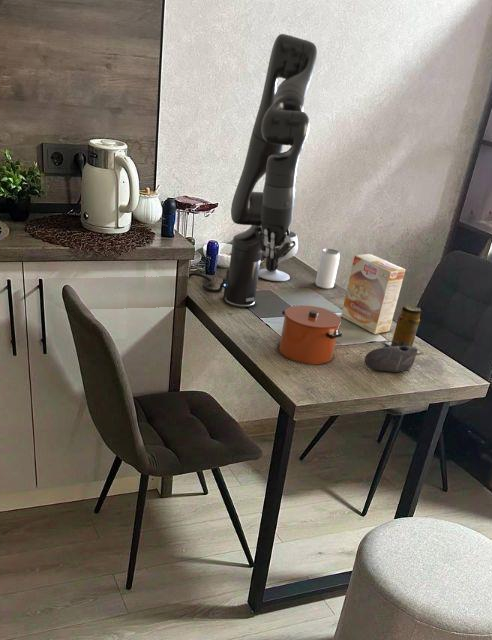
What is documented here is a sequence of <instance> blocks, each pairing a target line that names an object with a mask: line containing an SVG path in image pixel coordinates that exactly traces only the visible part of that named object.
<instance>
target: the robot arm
mask: <svg viewBox="0 0 492 640" xmlns="http://www.w3.org/2000/svg"><path fill="white" fill-rule="evenodd" d="M317 56H318V49H317V46H316V44H315V43H314V42H312V41H310V40H307V39H303V38H299V37H296V36H293V35H289V34H285V33H280V34H278V35H277V36H276V38H275V40H274V42H273V46H272V49H271V52H270V56H269V61H268V67H267V71H266V76H265V81H264V85H263V91H262V95H261V100H260V103H259V106H258V110H257V114H256V117H255V120H254V124H253V128H252V132H251V135H250V138H249V144H248V147H247V152H246V156H245V157H246V158H245V161H244V165H243V168H242V172H241V175H240V177H239V181H238V182H237V183H238V184H237V186H236V189H235V191H234V195H233V198H232V201H231V208H230V216H231V217H230V218H231V220H232V222H233V223H235V225H241V226H250V227H249V228H247V230H244V231H242V232H239V233H236V234H235V235H234V236H233V237H232V243H231V245H232V246H231V252H230V259H229V260H230V261H229V268H227V269H226V271H225V272H226V274H225V277H224V278H222V282H220V285H219V288H216V289H214V288H210V287H208V286H211V285H212V284H213V280H212V279H211V278H210V277H208V276H207V275H205V274H202V273H201V272H200V273H199V272H190V273H188V274H189V277H188V278H190V277H199V278H202V279H203V280H206V281H207V282H205V283H203V284H202V285H201V287H202V289H204V290H205V291H207V292H211V293H220V292H222V290H223V296H222V299H223V300H224V302H225V303H226V304H228V305H230V306H232V307H237V308H250V307H254V306H255V302H256V300H255V299H256V295H257V288H258V281H259V276H258V275H259V270H260V266H261V261H262V255H263V254H262V251H265V254H266V256H267V257H266V256H265V257H266V261H265V269H267V270H268V271H270V272H273V271H275V270H276V269H277V270H278V266H279V264H278V259H279V258H281V257H284V256H286V254H287V253H288V252H289V251H290V250H291V249H292V248H293V247H294V246H295V245H296V243H295V241H291V239H290V238H289V234H290V232H289V231H290V225H291V223H292V222H293V214H294V207H295V205H294V204H295V196H296V177H297V169H298V164H299V160H300V155H301V154H302V150H303V147H304V145H305V143H306V140H307V139H308V135H309V133H310V127H311V125H310V124H311V122H310V118H309V116H308V114H307V113H306V112H304V108H305V99H306V95H307V92H308V89H309V87H310V85H311V80H312V78H313V74H314V71H315V67H316V62H317V58H318V57H317ZM279 79H283V81H282V82H281V83H280V84H279ZM285 146H290V147H289V149H288V150H286V151H283V150H284V147H285ZM264 175H265V179H264V185H263V190H262V191H254V189H255V187H256V185H257V184H258V182H259V181H260V179H261V178H263V176H264Z"/></svg>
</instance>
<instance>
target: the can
mask: <svg viewBox="0 0 492 640" xmlns="http://www.w3.org/2000/svg"><path fill="white" fill-rule="evenodd" d="M319 257H320V258H319V262H318V267H317V271H316V272H317V273H316V278H315V282H314V283H315V286H316V287H318V288H321V289H327V290H329V289H332V288H334V286H335V283H336V277H337V272H338V269H339V264H340V258H341V257H340V251H339V250H337V249H333V248H323V249H322V251H321V254H320V256H319Z"/></svg>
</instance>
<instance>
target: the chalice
mask: <svg viewBox="0 0 492 640" xmlns="http://www.w3.org/2000/svg"><path fill="white" fill-rule="evenodd" d="M289 232H290V234H289V238H290V239H291V241H295V243H296V245H295V246H294V247H293V248H292V249H291V250H290V251H289V252H288V253H287V254H286V256H284V257H281V258H279V259H278V265H279V264H280V263H281V262H283V261H286V260H289V259H291V258H293V257H295V255H296V254H297V253H298V251H299V239H298V235H297V234H296V233H295V232H293V231H291V230H289ZM262 255H263V256H264V257H265V258H267V256H266V254H265V251H262ZM258 278H260V279H261V278H262V279H264V280H268V281H271V282H272V281H273V282H285V281H288V280H290V279H291V277H290V275H289V274H288V273H287V272H284V271H282V270H278V268H277V269H276V270H275V271H273V272H270V271H268V270H267V269H266V268H261V269H260V268H259V275H258Z"/></svg>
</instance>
